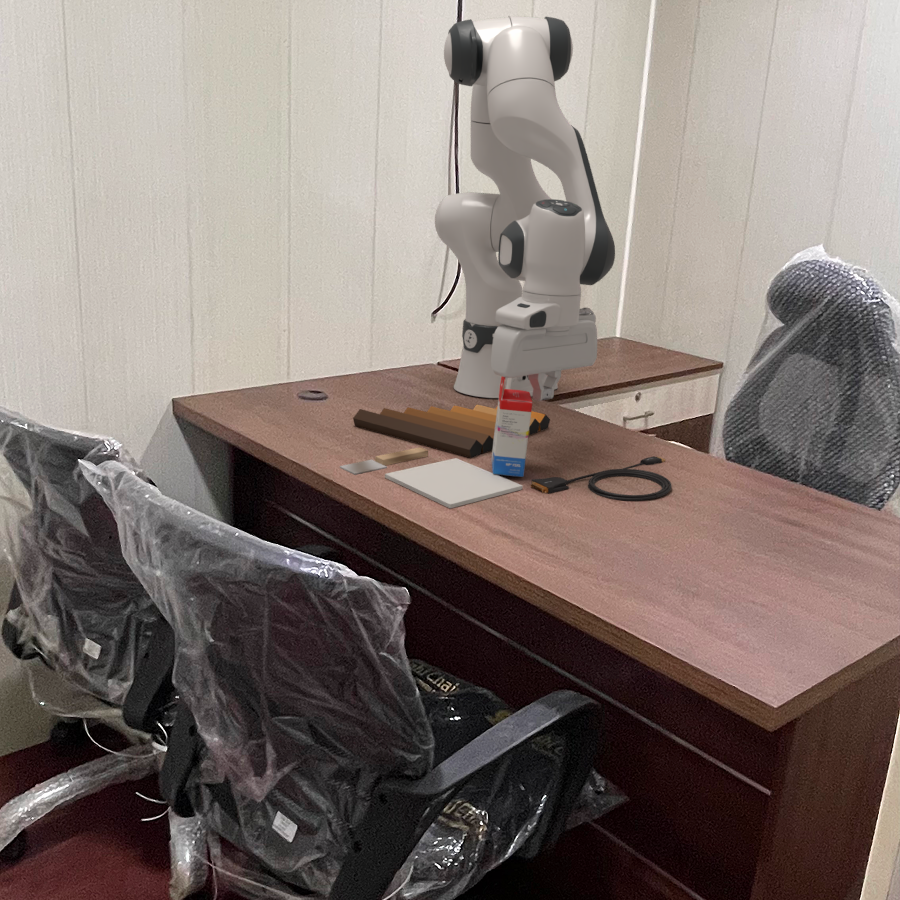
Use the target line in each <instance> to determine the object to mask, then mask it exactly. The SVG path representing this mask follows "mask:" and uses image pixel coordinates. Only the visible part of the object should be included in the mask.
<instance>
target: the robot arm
mask: <svg viewBox="0 0 900 900" xmlns="http://www.w3.org/2000/svg"><path fill="white" fill-rule="evenodd" d="M573 45H574V44H573V39H572V36H571V32H570V28H569V26H568V24H566V22H565V21H564V20H563V19H559V18H555V17H551V16H544V17H543V18H541V17H536V16H535V17H534V16H525V15H524V16H522V15H508V16H506V17H492V18H484V19H477V20H472V19H465V20H461V21H458V22H456V23H454V24H453V25H452V26H451V27H450V28H449V29H448V34H447V36H446V39H445V42H444V46H443V59H444V60H443V61H444V64H445V67H446V69H447V71H448V74H449V78H450V79H452V80H453V82H454V83H456V84H459V85H461V86H467V87H472V91H471V101H470V159H471V161H472V164H473V166H474V167H475V168H476V170H478V171H479V172H480V173H481V174H483V175H485V176H487V178H490V180H492V181H493V183H494V184H495V185H496V187H497V188H498V193H487V192H476V191H475V192H473V191H467V192H458V193H453V194H452V193H451V194H448V195H446V196H445V197H444V198H443V199H442V200H441V201H440V202H439V204H438V206H437V208H436V211H435V215H434V227H435V232H436V234H437V236H438V237H439V239H440V240H441V241H442V243H444V245H446V247H448V248H449V250H450V251H452V253H453V254H454V256H455V258H456V259H457V260H458V262H459V265H460V267H461V269H462V273H463V276H464V277H463V278H464V281H465V318H464V319H463V320H462V321H463V322H462V334H461V337H462V343H463V345H462V348H461V349H462V350H461V356H460V361H459V365H458V371H457V376H456V379H455V381H454V384H453V389H454V390H455V391H457V392H458V393H461V394H464V395H469V396H473V397H479V398H487V399H499V391H500V384H501V377H505V378H506V383H505V389H513V390H522V391H527V392H529V393H530V396H531V397H532V399H533V400H535V401H538V402H539V401H545V400H550V399H551V400H552V399H553V398H554V395H555V394H554V393H555V390H557V389H558V383H559V381H560V379H561V376H562V371H565V370H571V369H573V370H574V369H577V368H578V369H579V368H585V367H591V366H593V365H594V364H595V362H596V360H597V358H598V327H597V325H596V320H597V318H596V314H595V313H594V311H592V309H591V308H590V307H582V308H580V307H581V301H582V300H581V297H582V288H581V285H584V286H594V285H595V284H597V283H598V282H600V281H601V280H602V279H604V278H605V276H606V275H607V274H608V273H609V272H610V271H611V270H612V268H613V265H614V263H615V258H616V246H615V241H614V238H613V234H612V232H611V230H610V228H609V225H608V223H607V221H606V218H605V216H604V213H603V209H602V204H601V202H600V197H599V194H598V192H597V187H596V184H595V179H594V176H593V171H592V169H591V164H590V161H589V157H588V154H587V151H586V147H585V144H584V141H583V138H582V136H581V133H580V131H579V130H578V129H577V128H576V127H575V126H573V125H572V124H570V122H569V121H568V119H567V118H566V116H565V115H564V113H563V112H562V109H561V107H560V104H559V101H558V99H557V95H556V94H557V93H556V85H555V82H558V81H559V80H561V79H562V78H563V77H565V75H566V74H567V72H568V71H569V69H570V65H571V62H572V59H573V51H574V50H573V49H574V48H573V47H574V46H573ZM532 160H534V161H536V162H537V163H540V164H542V165H543V166H544V167H546V168H548V169H549V170H551V172H553V173H554V174H555V175H556V176H557V177H558V180H560V183H561V185H562V189H563V194H564V197H565V200H566V201H565V200H562V199H553V198H551V197H550V196H549V195H548V194H547V193H546V191H545V190H544V189H543V188H542V186H541V184H540V183H539V181H538V179H537V175H536V174H535V171H534V168H533V165H532ZM497 252H498V254H497ZM497 255H498V256H497ZM520 281H522V282H523V281H524V284H523V287H522V283H521V282H520Z"/></svg>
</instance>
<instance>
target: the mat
mask: <svg viewBox="0 0 900 900" xmlns="http://www.w3.org/2000/svg"><path fill="white" fill-rule="evenodd" d="M384 478H385V479H387V480H389V481H391V482H393V483H395V484H398V485H400V486H402V487H404V488H406V489H407V490H410V491H412V492H414V493H416V494H418V495H421V496H423V497H425V498H427V499H429V500H431V501H433V502H435V503H436V504H437V503H438V504H440V505H442V506H443V507H446V508H448V509H453V508H457V507H461V506H464V505H465V506H466V505H468V504H469V505H470V504H472V503H476V502H480V501H484V500H487V499H492V498H495V497H498V496H502V495H505V494H506V495H507V494H511V493H514V492H517V491H522V490H523V484H519V483H518V482H515V481H513V480H510V479H508V478H506V477H503V476H502V475H501V476H500V475H497V474H493V472H492V471H488V470H486V469H484V468H481V467H478V466H476V465H474V464H472V463H469V462H467V461H464V460H461V459H459V458H456V457H455V458H451V459H445V460H441V461H437V462H433V463H427V464H424V465H419V466H414V467H409V468H404V469H402V470H396V471H392V472H386V473H384Z"/></svg>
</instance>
